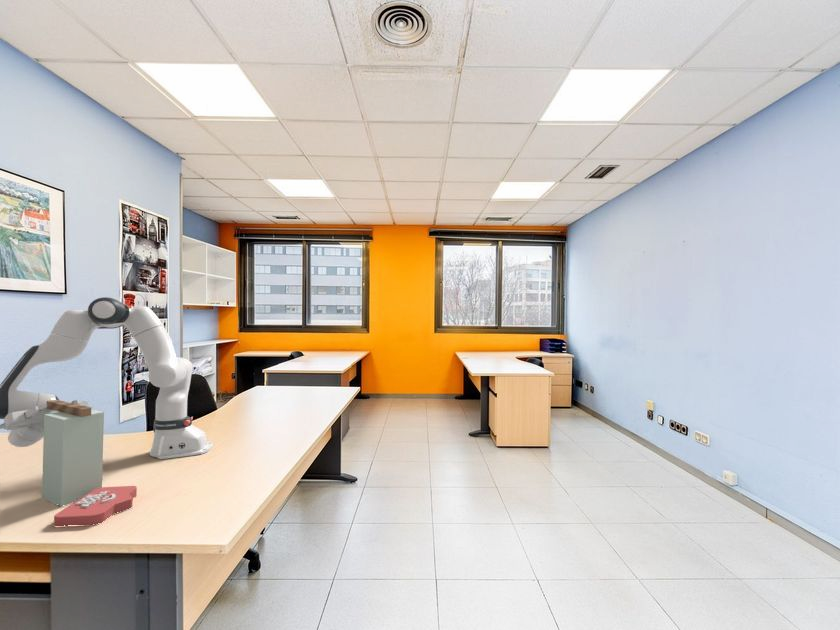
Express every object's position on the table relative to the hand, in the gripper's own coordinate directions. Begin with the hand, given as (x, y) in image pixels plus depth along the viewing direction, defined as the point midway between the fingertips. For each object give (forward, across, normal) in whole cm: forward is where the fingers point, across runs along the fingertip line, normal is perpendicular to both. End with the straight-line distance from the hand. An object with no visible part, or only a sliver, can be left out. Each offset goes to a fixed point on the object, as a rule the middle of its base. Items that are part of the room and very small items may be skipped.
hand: (58, 405), depth 121 cm
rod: (+5, 0, +4) cm, 6 cm away
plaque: (+10, 0, +39) cm, 40 cm away
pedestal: (-5, 0, +29) cm, 29 cm away
